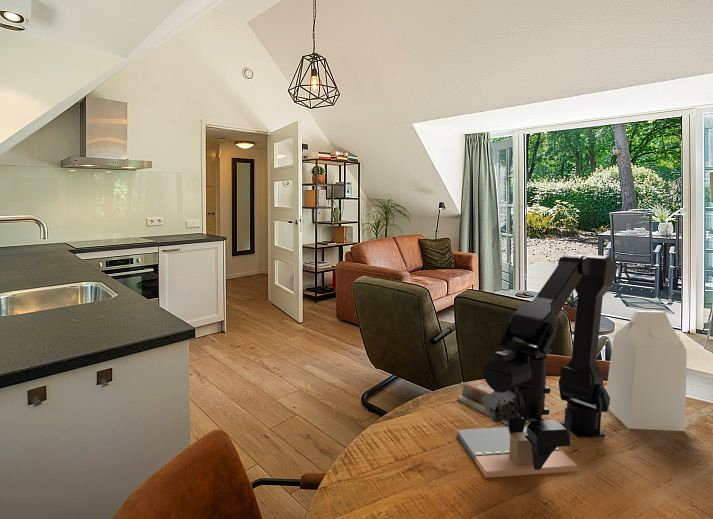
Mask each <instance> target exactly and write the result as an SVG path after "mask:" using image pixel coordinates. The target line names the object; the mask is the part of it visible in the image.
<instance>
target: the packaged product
mask: <svg viewBox="0 0 713 519" xmlns="http://www.w3.org/2000/svg"><path fill="white" fill-rule="evenodd" d="M493 392H494V390H493V389H492V388H490V387H489V385H488V384H487V382H485V381H483V380H478V379H475V380H472V381H469V382H466V383H464V384H463V385H462V394H459V395H457V400H458V401H459V402H462V403H463V404H466V405H468V406H469V407H471V408H473V409H475V410H476V411H479V412H481V413H482V414H484V415H487V414H486V411H485V408H484V405H483V402H482V397H484V396H486V395H488V394H491V393H493ZM487 416H488V415H487ZM500 423H502V424H505V425H507V422H506V421H501V422H500ZM527 423H530V422H529V421H528V420H526V423H525V424H527Z"/></svg>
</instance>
